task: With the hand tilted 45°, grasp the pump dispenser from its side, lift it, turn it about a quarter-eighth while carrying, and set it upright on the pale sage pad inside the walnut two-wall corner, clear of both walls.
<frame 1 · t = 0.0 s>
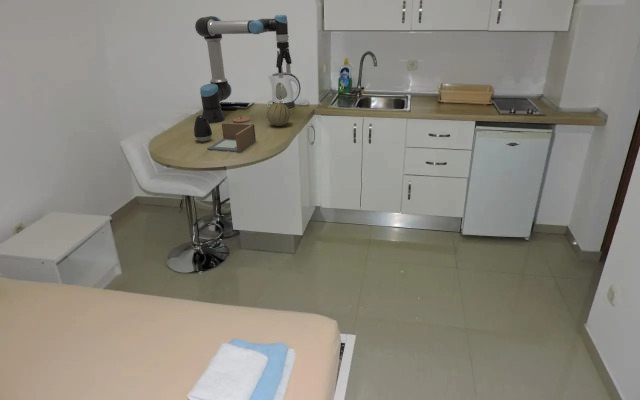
hand: (284, 76, 290), 28 cm above the worktop, tool pointing down, fingers open, 13 cm apart
cantaloupe: (279, 125, 287), on the worktop
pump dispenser: (204, 140, 263), on the worktop
lidded jar: (242, 131, 278), on the worktop
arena: (232, 145, 253), on the worktop
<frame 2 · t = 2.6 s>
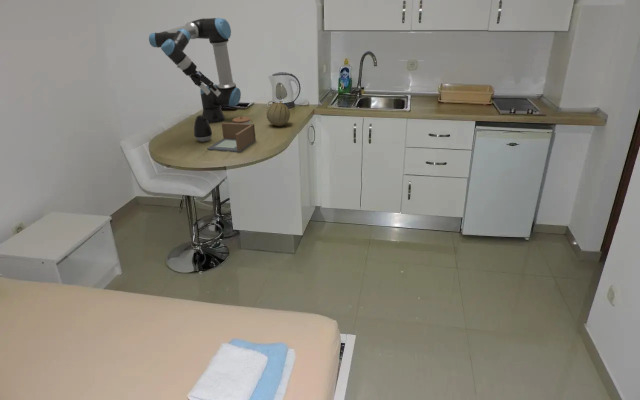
hand: (213, 94, 253), 27 cm above the worktop, tool tilted 35°, fingers open, 13 cm apart
nothing on the worktop moved.
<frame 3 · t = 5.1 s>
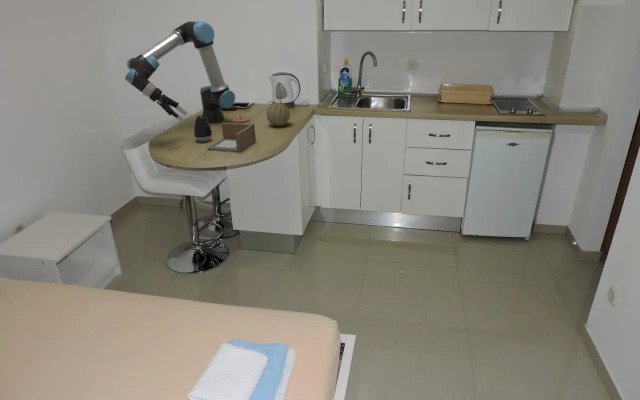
hand: (184, 117, 256), 15 cm above the worktop, tool tilted 45°, fingers open, 13 cm apart
nothing on the worktop moved.
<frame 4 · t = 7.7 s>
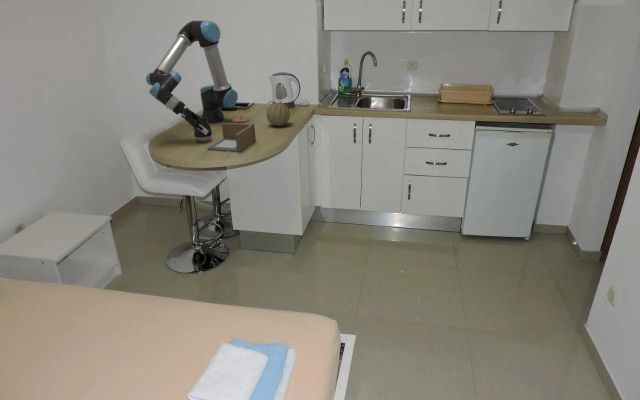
hand: (208, 130, 261), 6 cm above the worktop, tool tilted 45°, fingers closed on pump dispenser, 9 cm apart
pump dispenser: (204, 140, 263), on the worktop, touching gripper
everything else where it was.
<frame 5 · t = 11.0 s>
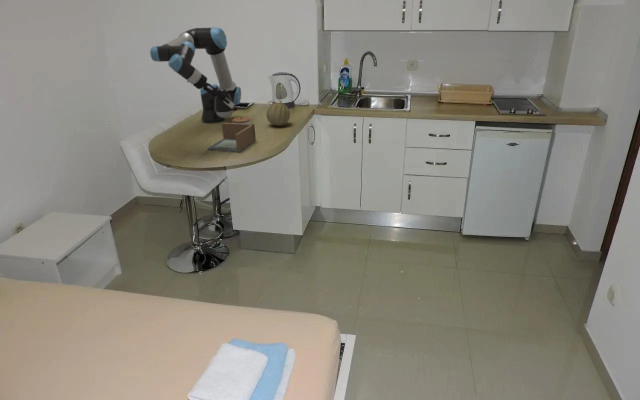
hand: (229, 104, 244), 23 cm above the worktop, tool tilted 45°, fingers closed on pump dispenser, 9 cm apart
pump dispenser: (225, 116, 245), point 17 cm above the worktop, touching gripper
everything else where it was.
when the fingers open (8 cm above the worktop, at t = 14.4 s): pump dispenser stays where it is, resting on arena.
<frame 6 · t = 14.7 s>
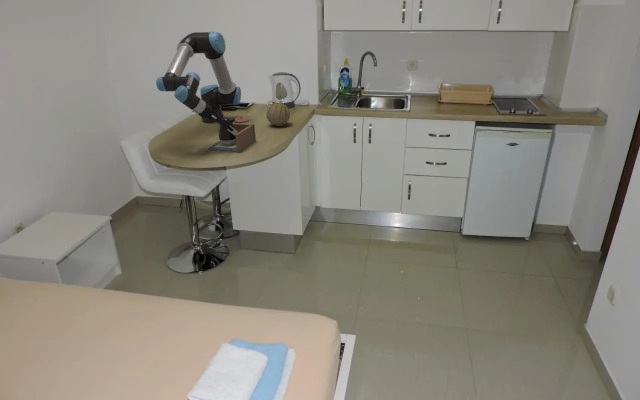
hand: (231, 130, 250), 8 cm above the worktop, tool tilted 45°, fingers open, 13 cm apart
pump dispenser: (229, 144, 252), point 1 cm above the worktop, touching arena
everything else where it was.
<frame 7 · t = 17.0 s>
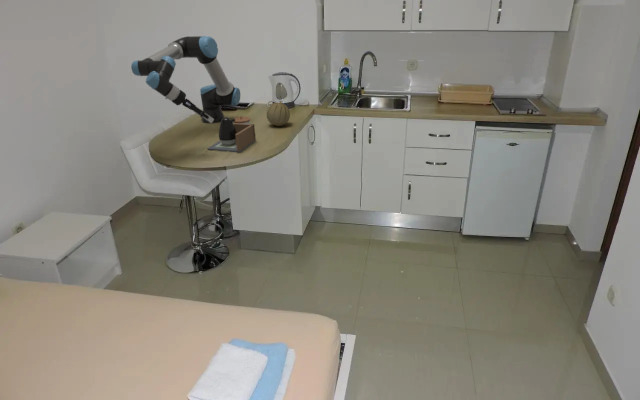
hand: (208, 118, 242), 17 cm above the worktop, tool tilted 45°, fingers open, 13 cm apart
nothing on the worktop moved.
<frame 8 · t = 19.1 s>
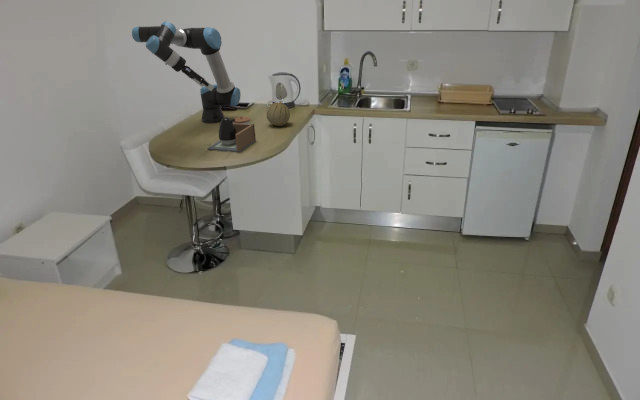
hand: (208, 87, 241), 33 cm above the worktop, tool tilted 45°, fingers open, 13 cm apart
nothing on the worktop moved.
at the end: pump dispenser inside the target area on the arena (1.3 cm from its centre), point 1.0 cm above the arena's base; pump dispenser tilted 0°; the gripper is holding nothing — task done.
